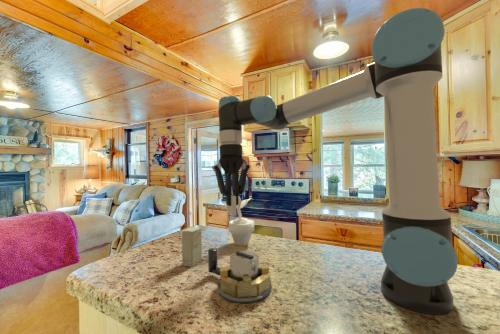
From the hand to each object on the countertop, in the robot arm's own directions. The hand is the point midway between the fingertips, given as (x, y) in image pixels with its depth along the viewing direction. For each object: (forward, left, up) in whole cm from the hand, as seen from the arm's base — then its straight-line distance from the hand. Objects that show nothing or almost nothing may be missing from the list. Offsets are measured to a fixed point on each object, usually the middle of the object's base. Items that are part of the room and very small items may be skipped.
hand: (232, 215), depth 76 cm
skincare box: (+15, +6, -18) cm, 24 cm away
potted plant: (+16, -21, -18) cm, 32 cm away
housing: (-11, +6, -18) cm, 22 cm away
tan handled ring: (-7, +6, -17) cm, 19 cm away
